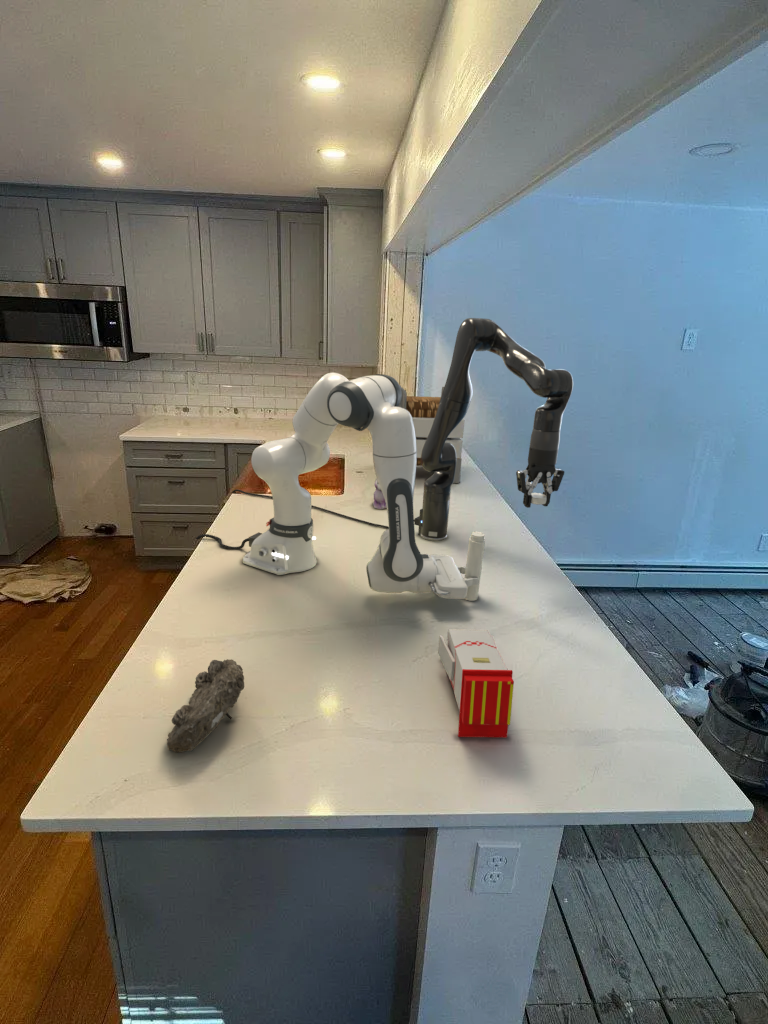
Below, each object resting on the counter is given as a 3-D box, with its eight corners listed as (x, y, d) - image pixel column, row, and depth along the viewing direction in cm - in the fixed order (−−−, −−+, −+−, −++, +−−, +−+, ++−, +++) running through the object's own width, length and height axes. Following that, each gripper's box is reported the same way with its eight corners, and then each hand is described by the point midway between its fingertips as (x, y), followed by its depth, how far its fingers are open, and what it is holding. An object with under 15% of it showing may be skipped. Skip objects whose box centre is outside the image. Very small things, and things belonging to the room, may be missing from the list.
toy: (488, 613, 130) (523, 677, 101) (484, 667, 133) (517, 744, 104) (435, 612, 130) (455, 676, 101) (432, 666, 133) (451, 743, 103)
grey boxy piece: (382, 463, 289) (386, 382, 275) (445, 464, 293) (451, 384, 279) (390, 482, 257) (394, 392, 243) (460, 483, 261) (468, 394, 247)
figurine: (377, 511, 221) (379, 474, 216) (366, 503, 229) (367, 467, 224) (399, 508, 225) (401, 471, 220) (387, 500, 233) (388, 465, 228)
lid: (540, 498, 159) (541, 492, 159) (549, 504, 155) (550, 498, 154) (523, 499, 158) (524, 492, 158) (532, 505, 154) (533, 498, 153)
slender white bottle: (461, 599, 156) (469, 535, 150) (462, 592, 160) (470, 530, 154) (477, 601, 156) (485, 537, 149) (477, 594, 159) (486, 532, 153)
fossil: (192, 660, 117) (244, 628, 112) (224, 691, 120) (276, 661, 115) (142, 746, 98) (202, 712, 93) (182, 779, 101) (242, 748, 96)
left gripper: (433, 583, 143) (487, 582, 145) (420, 550, 163) (467, 550, 164) (432, 605, 146) (484, 604, 147) (419, 570, 165) (465, 570, 166)
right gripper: (559, 442, 157) (550, 500, 162) (513, 443, 153) (506, 503, 158) (575, 448, 150) (565, 509, 156) (527, 450, 146) (519, 512, 152)
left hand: (475, 575), depth 156 cm, fingers closed on slender white bottle, 4 cm apart
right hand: (535, 505), depth 157 cm, fingers closed on lid, 5 cm apart
